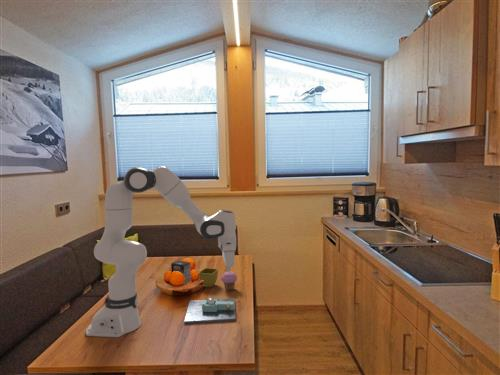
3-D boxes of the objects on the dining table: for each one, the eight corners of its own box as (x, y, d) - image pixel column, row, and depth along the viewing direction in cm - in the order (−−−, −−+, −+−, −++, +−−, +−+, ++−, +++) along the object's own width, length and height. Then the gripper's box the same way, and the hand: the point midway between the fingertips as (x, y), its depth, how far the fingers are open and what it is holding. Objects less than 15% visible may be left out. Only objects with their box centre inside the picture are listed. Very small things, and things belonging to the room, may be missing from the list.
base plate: (184, 323, 145) (183, 310, 145) (189, 302, 167) (189, 291, 167) (235, 321, 147) (235, 307, 146) (234, 300, 169) (234, 288, 168)
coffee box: (171, 291, 183) (170, 263, 182) (179, 287, 189) (178, 259, 187) (184, 293, 179) (183, 265, 177) (191, 289, 184) (190, 261, 183)
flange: (202, 311, 154) (202, 305, 154) (205, 305, 161) (205, 298, 160) (232, 312, 152) (232, 305, 152) (234, 305, 159) (234, 299, 159)
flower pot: (212, 289, 184) (211, 273, 183) (198, 287, 187) (198, 272, 186) (218, 283, 192) (218, 268, 192) (205, 282, 195) (205, 267, 194)
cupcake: (222, 293, 178) (222, 275, 178) (220, 287, 187) (220, 270, 186) (238, 291, 180) (238, 273, 179) (236, 285, 189) (235, 268, 188)
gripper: (219, 238, 168) (219, 265, 169) (222, 248, 148) (223, 278, 149) (231, 238, 169) (231, 264, 170) (236, 247, 149) (237, 277, 150)
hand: (227, 270), depth 159 cm, fingers closed
